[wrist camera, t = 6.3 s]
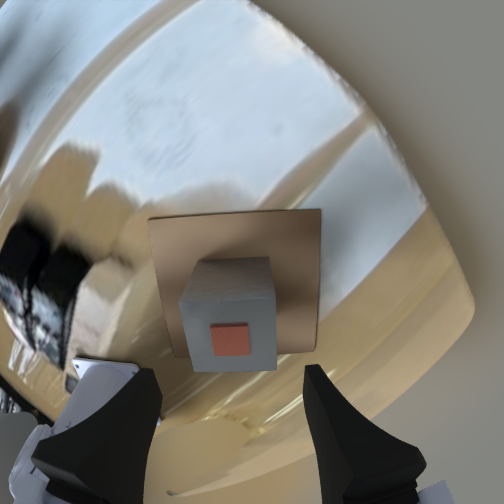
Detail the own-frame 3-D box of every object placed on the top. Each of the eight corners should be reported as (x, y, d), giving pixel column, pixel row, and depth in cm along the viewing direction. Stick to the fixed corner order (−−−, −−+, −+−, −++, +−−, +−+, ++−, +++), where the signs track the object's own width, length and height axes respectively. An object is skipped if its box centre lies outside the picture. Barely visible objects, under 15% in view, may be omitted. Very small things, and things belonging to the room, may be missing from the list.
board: (312, 344, 24) (318, 366, 21) (177, 350, 24) (170, 372, 21) (317, 207, 20) (328, 216, 17) (151, 217, 20) (137, 227, 17)
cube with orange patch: (271, 317, 22) (277, 372, 16) (206, 320, 22) (193, 374, 16) (269, 256, 20) (276, 300, 14) (197, 260, 20) (177, 303, 14)
